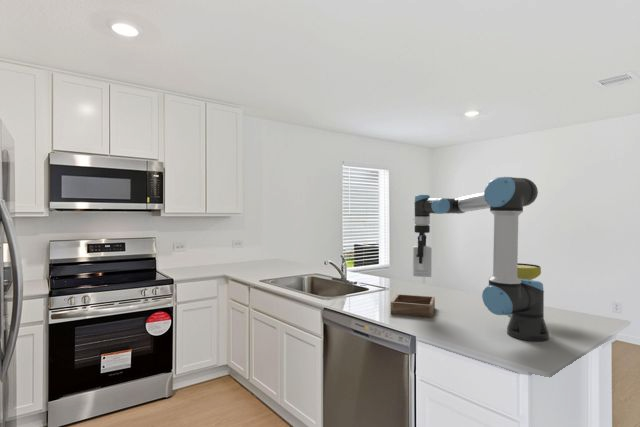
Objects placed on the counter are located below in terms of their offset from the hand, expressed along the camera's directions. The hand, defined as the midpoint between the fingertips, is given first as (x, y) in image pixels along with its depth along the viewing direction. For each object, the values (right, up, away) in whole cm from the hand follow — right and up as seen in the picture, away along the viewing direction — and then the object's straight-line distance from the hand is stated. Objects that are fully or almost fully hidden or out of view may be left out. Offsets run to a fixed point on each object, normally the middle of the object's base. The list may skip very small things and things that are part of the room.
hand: (421, 268), depth 191 cm
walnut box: (-4, -23, +3) cm, 23 cm away
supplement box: (0, -4, 0) cm, 4 cm away
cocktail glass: (+45, -22, -10) cm, 51 cm away
